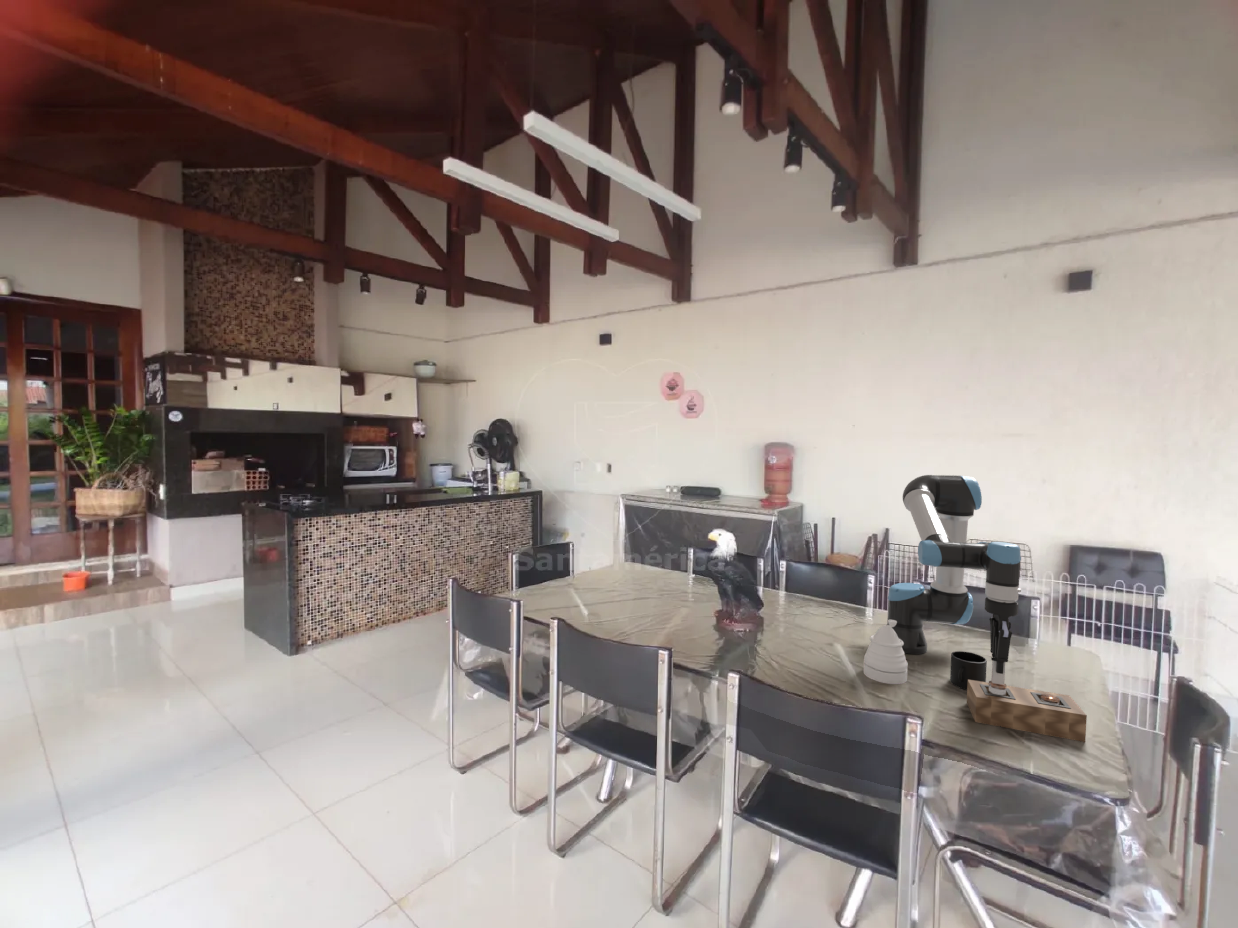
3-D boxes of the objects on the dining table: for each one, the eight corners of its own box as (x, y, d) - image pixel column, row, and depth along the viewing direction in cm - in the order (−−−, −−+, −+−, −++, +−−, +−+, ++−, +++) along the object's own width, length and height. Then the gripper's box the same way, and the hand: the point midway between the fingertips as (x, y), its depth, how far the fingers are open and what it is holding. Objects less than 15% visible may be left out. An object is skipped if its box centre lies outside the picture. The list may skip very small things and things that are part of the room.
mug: (941, 685, 172) (943, 657, 171) (956, 675, 179) (957, 648, 179) (976, 697, 164) (977, 667, 164) (989, 686, 172) (991, 657, 172)
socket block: (975, 721, 150) (976, 696, 149) (966, 702, 161) (967, 678, 160) (1085, 741, 140) (1086, 714, 140) (1068, 720, 151) (1069, 694, 151)
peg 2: (1042, 724, 147) (1043, 698, 147) (1037, 717, 151) (1038, 692, 150) (1060, 727, 146) (1062, 701, 145) (1055, 720, 149) (1056, 695, 149)
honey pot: (889, 666, 186) (891, 613, 186) (916, 682, 174) (918, 626, 173) (855, 668, 184) (857, 615, 183) (879, 685, 172) (881, 628, 171)
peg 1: (989, 709, 152) (990, 685, 151) (986, 703, 155) (987, 679, 155) (1006, 712, 150) (1008, 687, 150) (1003, 706, 154) (1004, 682, 154)
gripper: (1024, 607, 144) (1020, 695, 145) (1011, 594, 156) (1007, 676, 157) (991, 603, 147) (987, 689, 148) (980, 591, 159) (976, 671, 160)
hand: (997, 682), depth 152 cm, fingers closed
